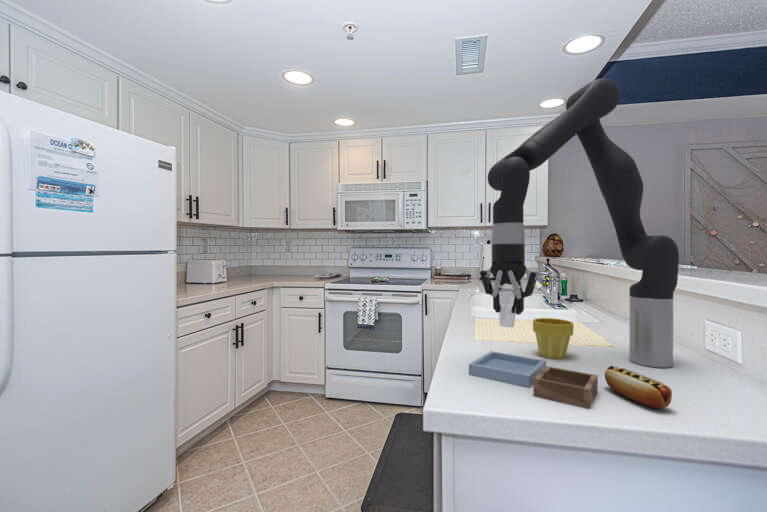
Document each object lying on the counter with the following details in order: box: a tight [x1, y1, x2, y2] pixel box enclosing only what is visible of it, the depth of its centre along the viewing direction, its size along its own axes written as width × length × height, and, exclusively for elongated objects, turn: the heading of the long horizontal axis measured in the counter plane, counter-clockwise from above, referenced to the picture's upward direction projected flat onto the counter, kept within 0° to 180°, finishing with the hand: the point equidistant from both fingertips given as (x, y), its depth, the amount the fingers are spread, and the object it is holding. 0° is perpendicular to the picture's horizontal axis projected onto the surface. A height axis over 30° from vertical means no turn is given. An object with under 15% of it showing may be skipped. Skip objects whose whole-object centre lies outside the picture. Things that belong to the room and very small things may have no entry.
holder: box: [533, 365, 599, 410], centre depth 74 cm, size 10×10×4 cm
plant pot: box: [532, 317, 574, 360], centre depth 102 cm, size 10×10×10 cm
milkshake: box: [498, 288, 517, 328], centre depth 87 cm, size 4×5×10 cm
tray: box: [468, 351, 547, 388], centre depth 88 cm, size 14×14×2 cm
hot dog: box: [604, 365, 673, 409], centre depth 71 cm, size 5×13×5 cm, turn 10°
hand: (508, 312), depth 88 cm, fingers closed on milkshake, 4 cm apart
